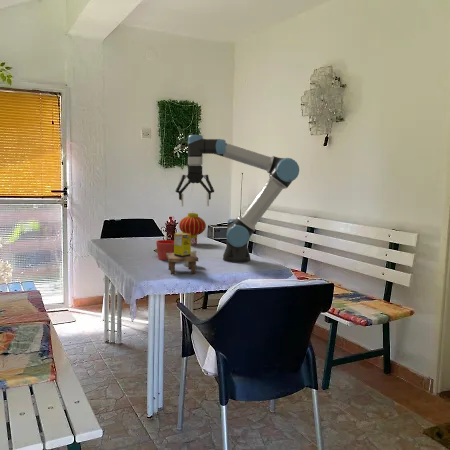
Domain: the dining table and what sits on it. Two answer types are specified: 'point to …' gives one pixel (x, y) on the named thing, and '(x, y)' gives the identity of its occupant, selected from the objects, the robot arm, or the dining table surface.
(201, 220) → the lantern
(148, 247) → the dining table surface
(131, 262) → the dining table surface
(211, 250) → the dining table surface
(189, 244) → the supplement box
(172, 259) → the footstool
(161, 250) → the flower pot
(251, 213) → the robot arm
